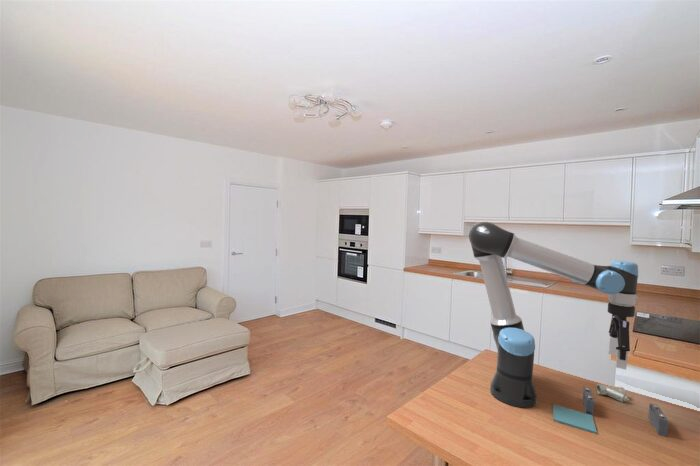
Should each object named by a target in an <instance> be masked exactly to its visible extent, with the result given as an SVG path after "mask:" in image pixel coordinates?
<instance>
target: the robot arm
mask: <svg viewBox="0 0 700 466" xmlns="http://www.w3.org/2000/svg"><path fill="white" fill-rule="evenodd" d="M468 239H469V243H470V245H471V250H472V254H473V257H474V259H475V260H478V262H479V266H480V270H481V273H482V277H483V283H484V286H485V289H486V294H487V297H488V301H489V305H490V309H491V314H492V318H491V320H490V326H491V331H492V333H493V334H492V336H493V340H494V342H495V345H496V349H497V356H496V357H497V360H496V370H495V373H494V376H493V377H492V380H491V383H490V384H489V385H490V386H489V387H490V388H489V392H490V394H491V395H492V396H493V398H495V399H497V400H498V401H500V402H502V403H504V404H507V405H509V406H513V407H516V408H532V407H534V406H536V405H537V400H538V396H537V391H536V388H535V384H534V381H533V374H534V361H535V351H536V341H535V338H534V336H533V335H532V334H531V333H530V332H528V331H526V330H525V328H524V323H523V320H522V317H520V316H519V315H518V314H516V309H515V306H514V305H515V304H514V302H513V297H512V293H511V289H510V285H509V281H508V277H507V273H506V269H505V266H504V262H503V258H504V259H506V258H507V257H509V258H511V259H514V260H517V261H520V262H522V263H524V264H528V265H530V266H533V267H535V268H538V269H541V270H544V271H546V272H549V273H552V274H555V275H557V276H560V277H563V278H565V279H567V280H570V281H572V282H573V284H578V285H583V286H586V287H590V288H592V289H595V290H597V291H599V292H601V293H604V294H607V295H608V299H607V300H608V303H607V313H608V314H611V320H610V325H609V330H608V334H609V341H608V342H609V343H608V354H609V355H612V356H616V358H615V367H616V368H617V369H622V370H627V365H628V353H629V352H630V351H631V349H630V321H628V320H627V318H633V317H635V315H636V314H635V313H636V307H635V305H636V300H638V299H639V297H638V296H637V286H638V279H639V267H638V264H637V263H635V262H631V261H625V260H613V261H611V263H610V265H597V264H593V263H590V262H587V261H585V260H582V259H579V258H576V257H573V256H571V255H568V254H565V253H562V252H559V251H556V250H553V249H550V248H548V247H545V246H542V245H539V244H538V243H534V242H530V241H529V240H525V239H522V238H519V237H517V236H516V233H514V232H511V231H508V230H506V229H504V228H502V227H500V226H498V225H496V224H495V223H492V222H488V221H482V222H478V223H476V224H475V225H473V226H471V229H470V230H469V233H468Z"/></svg>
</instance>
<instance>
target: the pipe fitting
mask: <svg viewBox="0 0 700 466" xmlns="http://www.w3.org/2000/svg"><path fill="white" fill-rule="evenodd" d="M595 387H596V388H595V390H596V392H597V394H598V395H602V396H608V397H610V398H611V399H614V400H615V401H619V402H620V403H624V402H629V400H630V399H629V398H628V396H627V393H626V390H625V388H624V387H623V386H622V387H621V386H612V385H605V384H599V383H597V384H596V386H595Z"/></svg>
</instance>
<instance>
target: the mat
mask: <svg viewBox="0 0 700 466" xmlns="http://www.w3.org/2000/svg"><path fill="white" fill-rule="evenodd" d="M552 413H553V421H554V422H556V423H559V424H562V425H567V426H569V427H572V428H575V429H579V430H582V431H586V432H589V433H592V434H595V435H597V433H598V431H597V429H596V425H595V420H594V417H593V416H592V415H589V414H586V412H581V411H578V410H575V409H570V408H568V407H565V406H564V407H563V406H561V405H557V404H552Z"/></svg>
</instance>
